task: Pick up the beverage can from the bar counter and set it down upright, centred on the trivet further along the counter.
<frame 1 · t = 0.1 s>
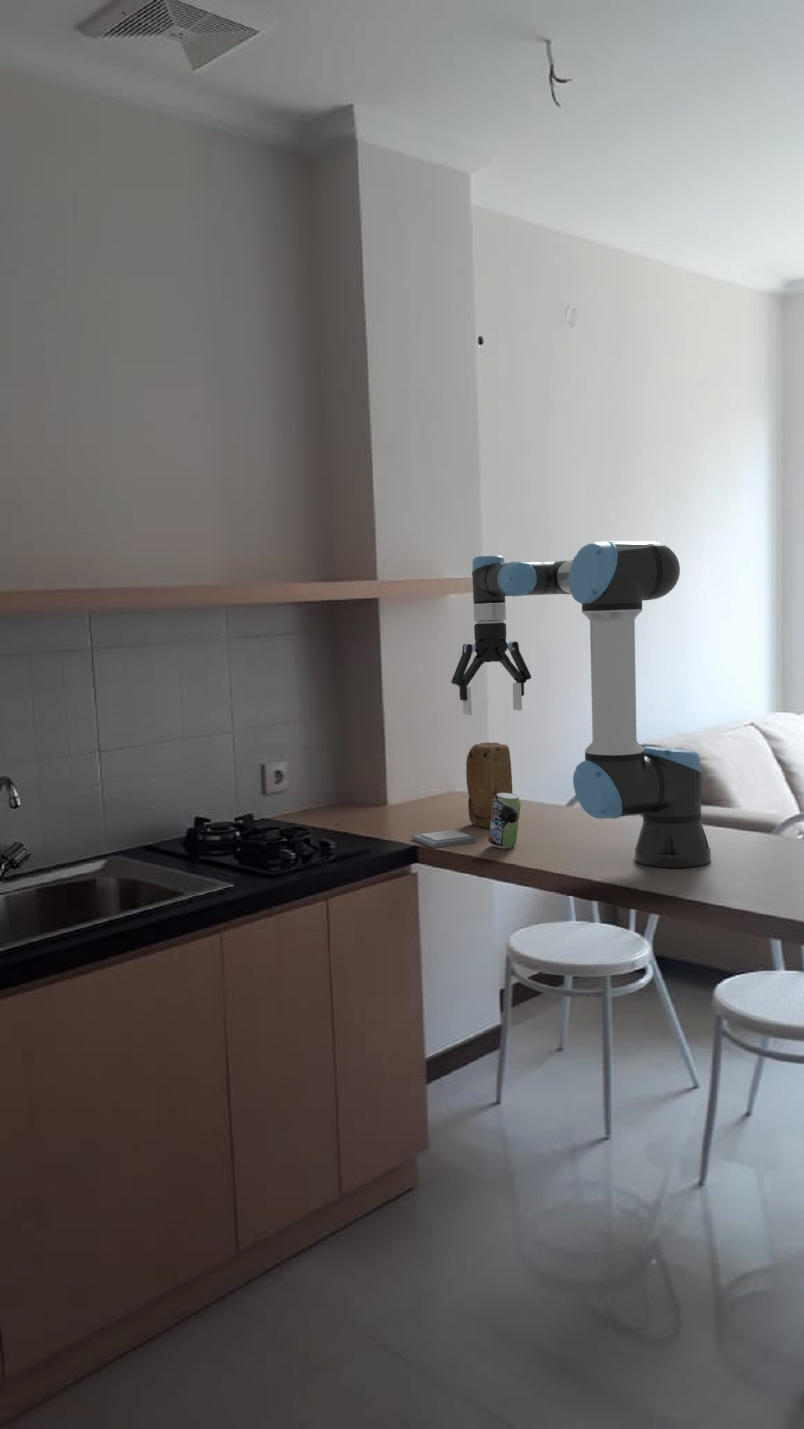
hand: (492, 712, 268), 28 cm above the counter, fingers open, 13 cm apart
block: (489, 826, 274), on the counter
beverage can: (505, 848, 250), on the counter
trivet: (444, 840, 259), on the counter
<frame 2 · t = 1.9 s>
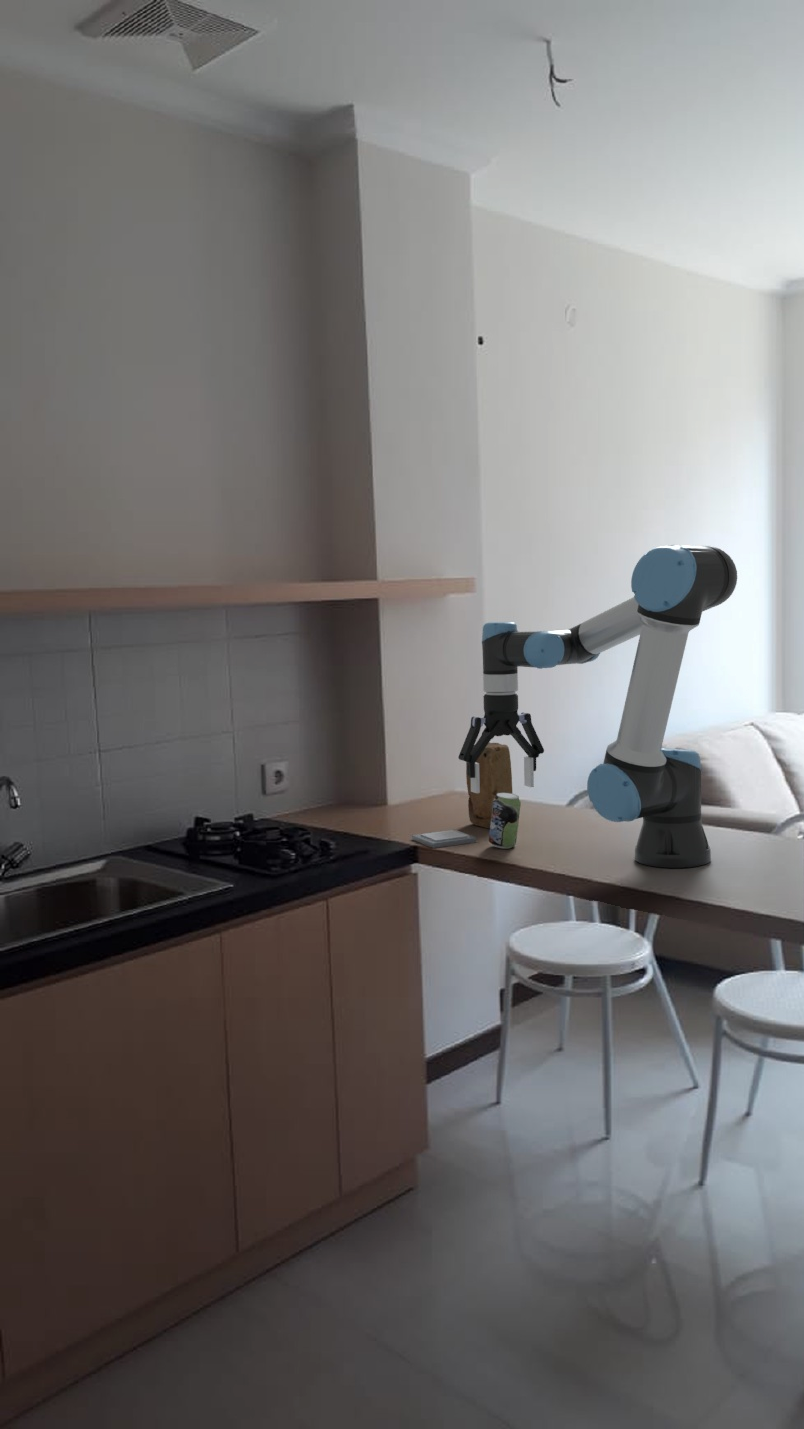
hand: (502, 789, 249), 13 cm above the counter, fingers open, 13 cm apart
nothing on the counter moved.
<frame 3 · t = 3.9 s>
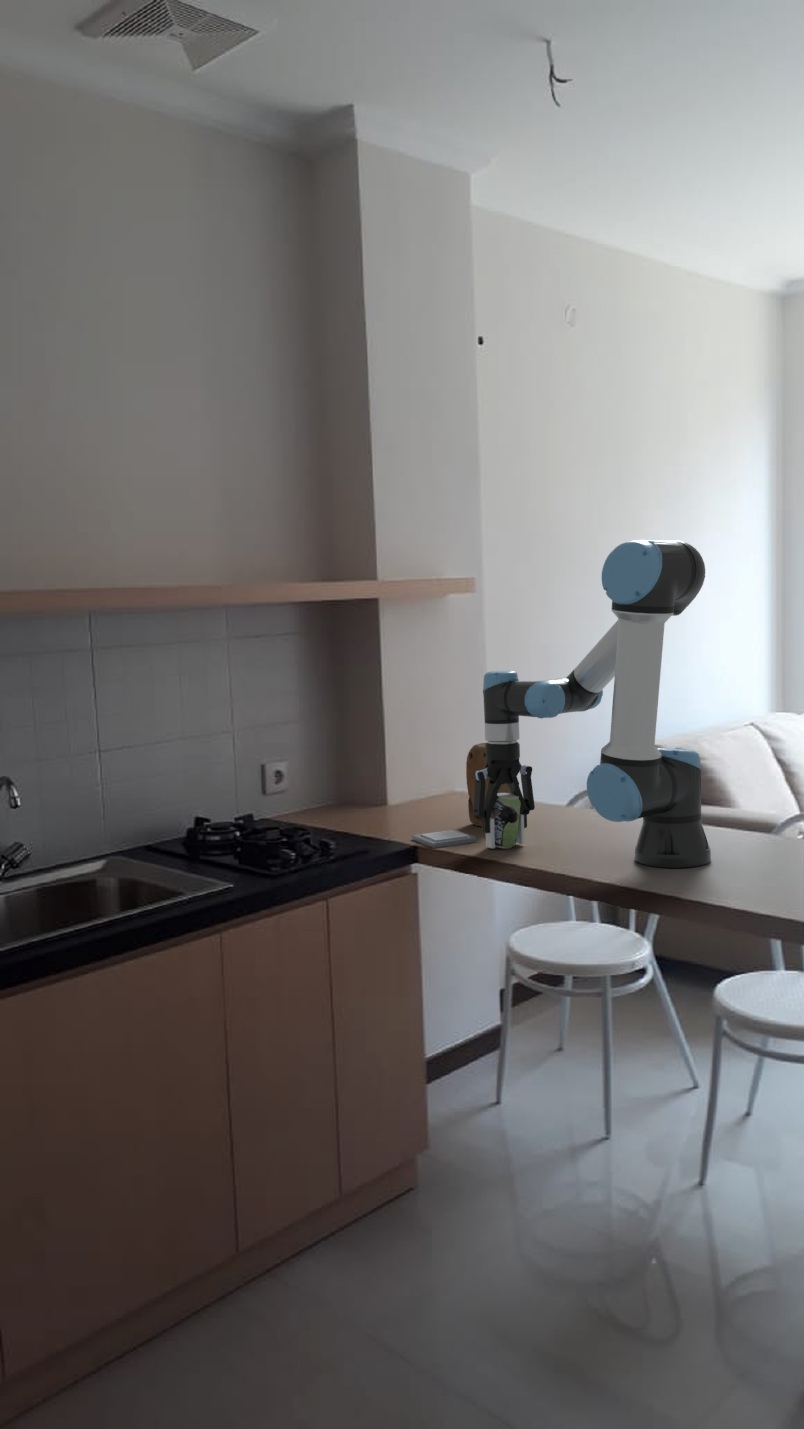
hand: (505, 844, 250), 1 cm above the counter, fingers closed on beverage can, 7 cm apart
beverage can: (505, 848, 250), on the counter, touching gripper
everything else where it was.
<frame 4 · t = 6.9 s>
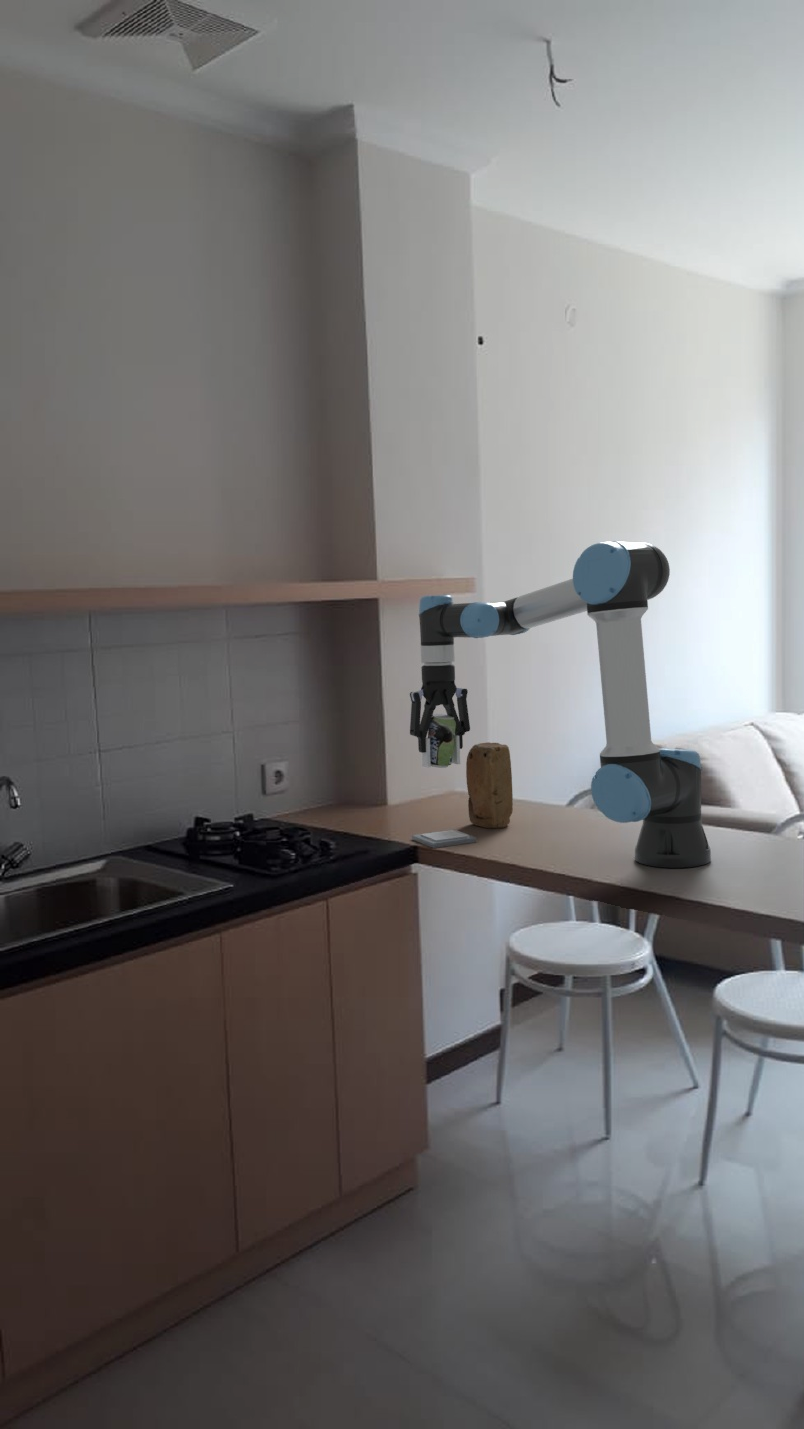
hand: (441, 764, 257), 18 cm above the counter, fingers closed on beverage can, 7 cm apart
beverage can: (441, 767, 257), point 17 cm above the counter, touching gripper
everything else where it was.
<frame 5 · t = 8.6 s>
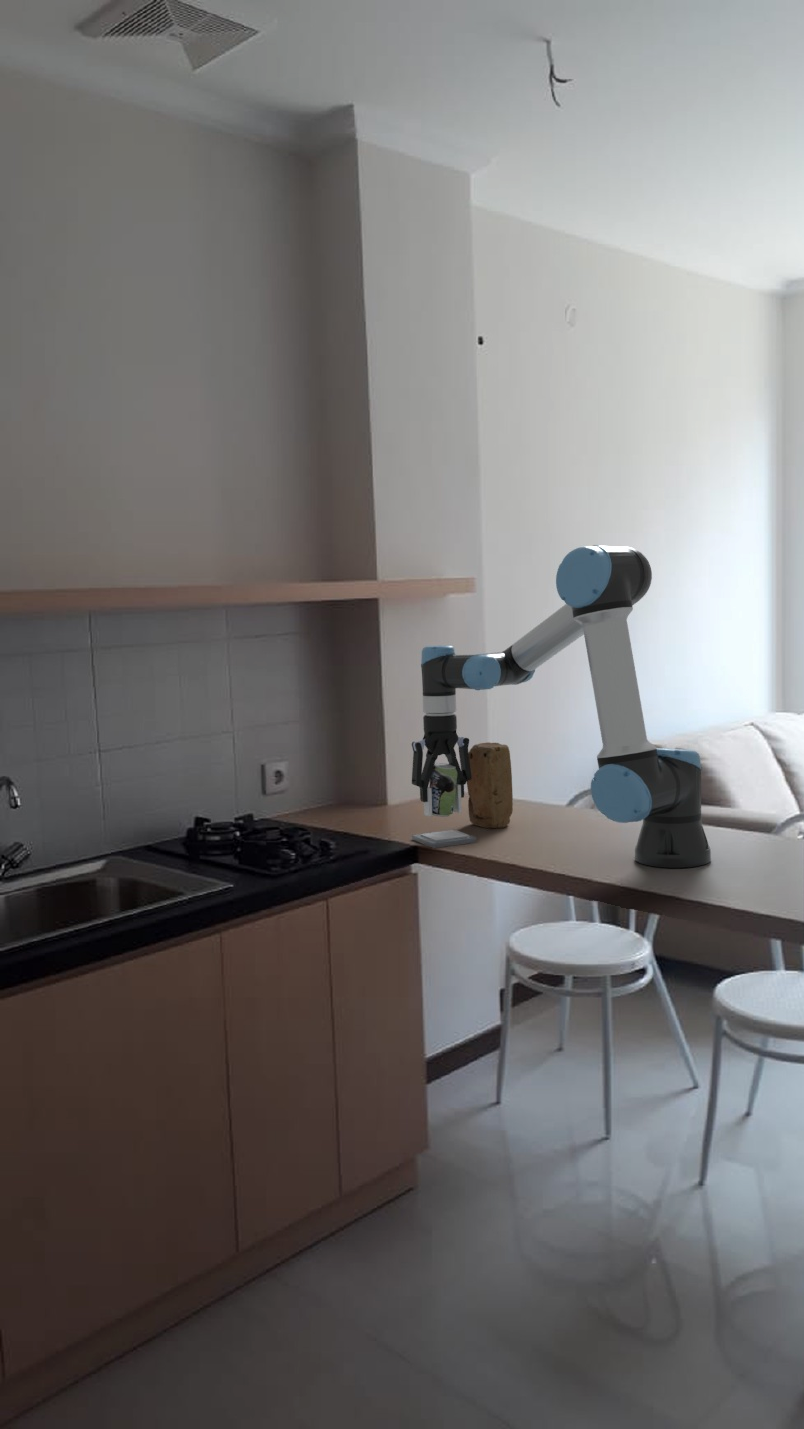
hand: (442, 813, 258), 6 cm above the counter, fingers closed on beverage can, 7 cm apart
beverage can: (442, 816, 259), point 6 cm above the counter, touching gripper
everything else where it was.
when the fingers open (3 cm above the counter, at t = 10.1 s): beverage can drops 1 cm, resting on trivet.
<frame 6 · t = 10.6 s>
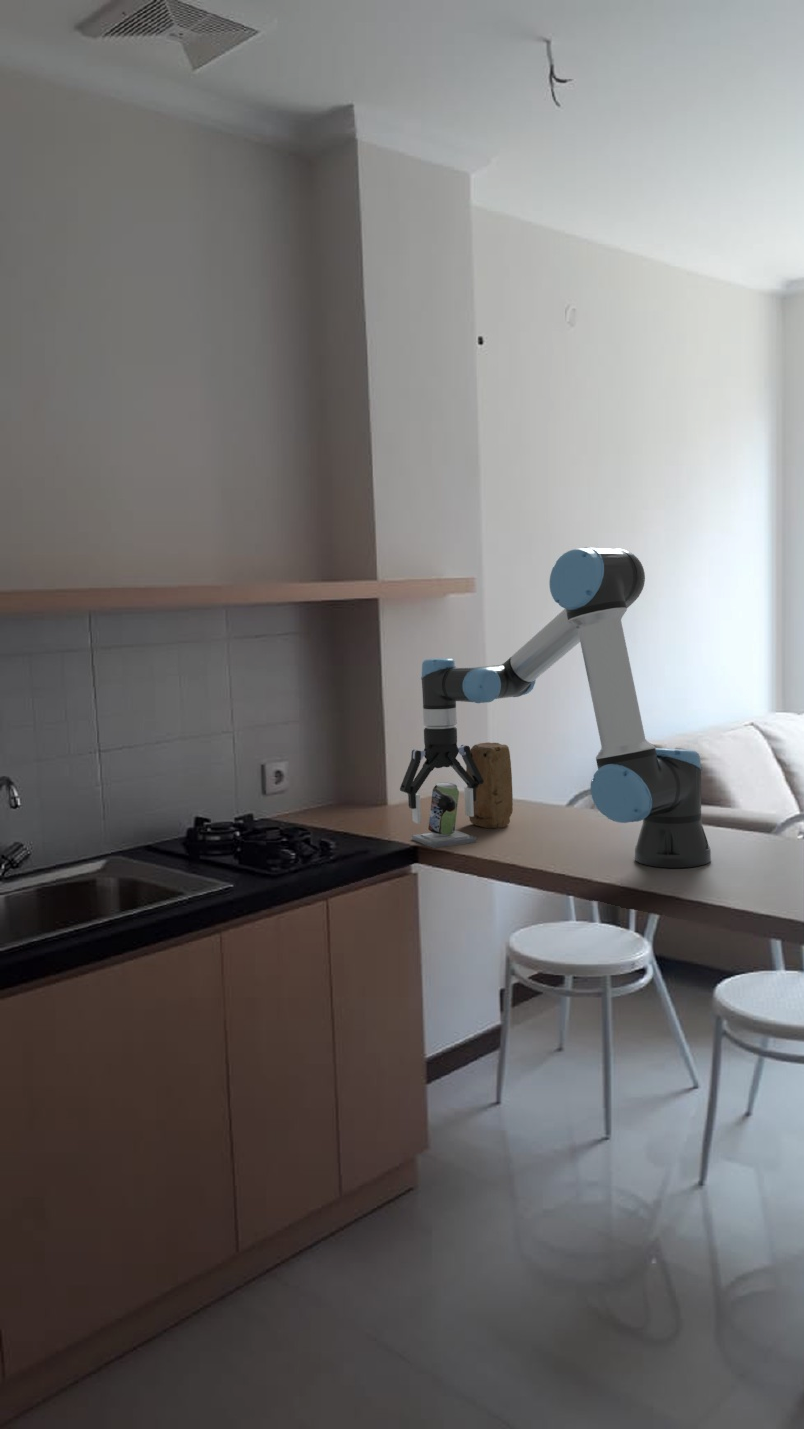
hand: (443, 819, 258), 5 cm above the counter, fingers open, 13 cm apart
beverage can: (444, 835, 259), point 1 cm above the counter, touching trivet
everything else where it was.
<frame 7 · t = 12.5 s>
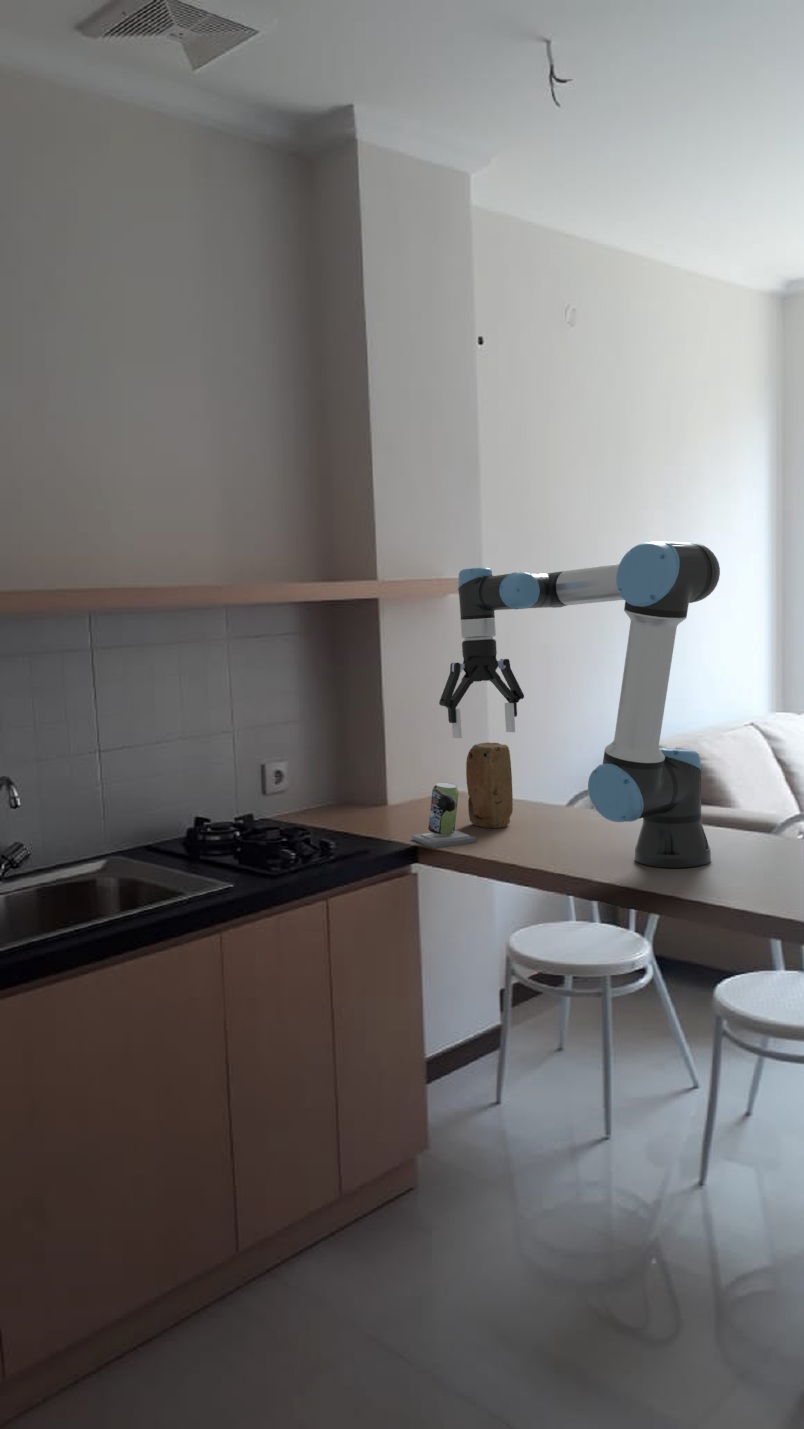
hand: (484, 735, 250), 25 cm above the counter, fingers open, 13 cm apart
nothing on the counter moved.
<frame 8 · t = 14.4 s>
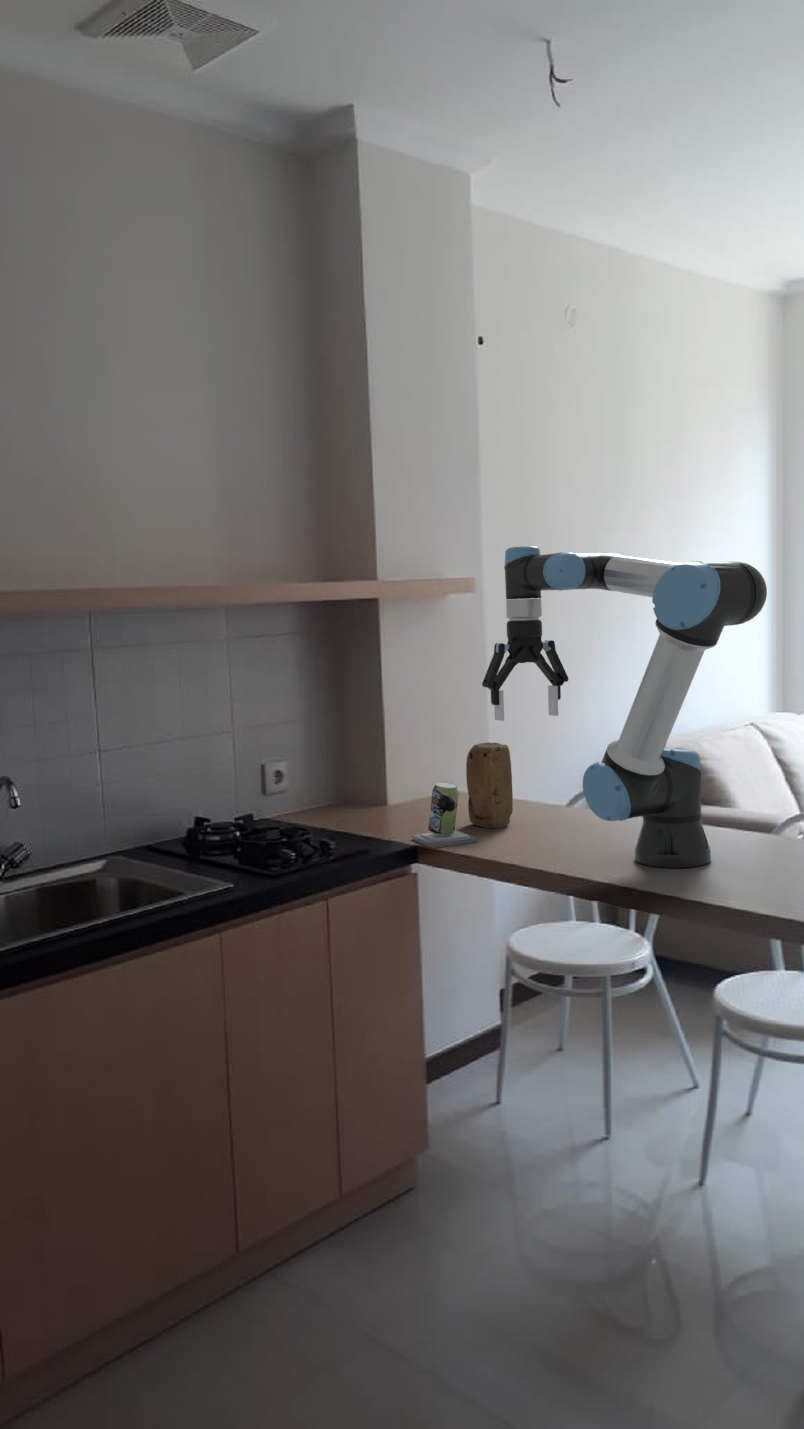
hand: (526, 717, 245), 29 cm above the counter, fingers open, 13 cm apart
nothing on the counter moved.
at the end: beverage can inside the target area on the trivet (0.1 cm from its centre), point 1.1 cm above the trivet's base; beverage can tilted 0°; the gripper is holding nothing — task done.
